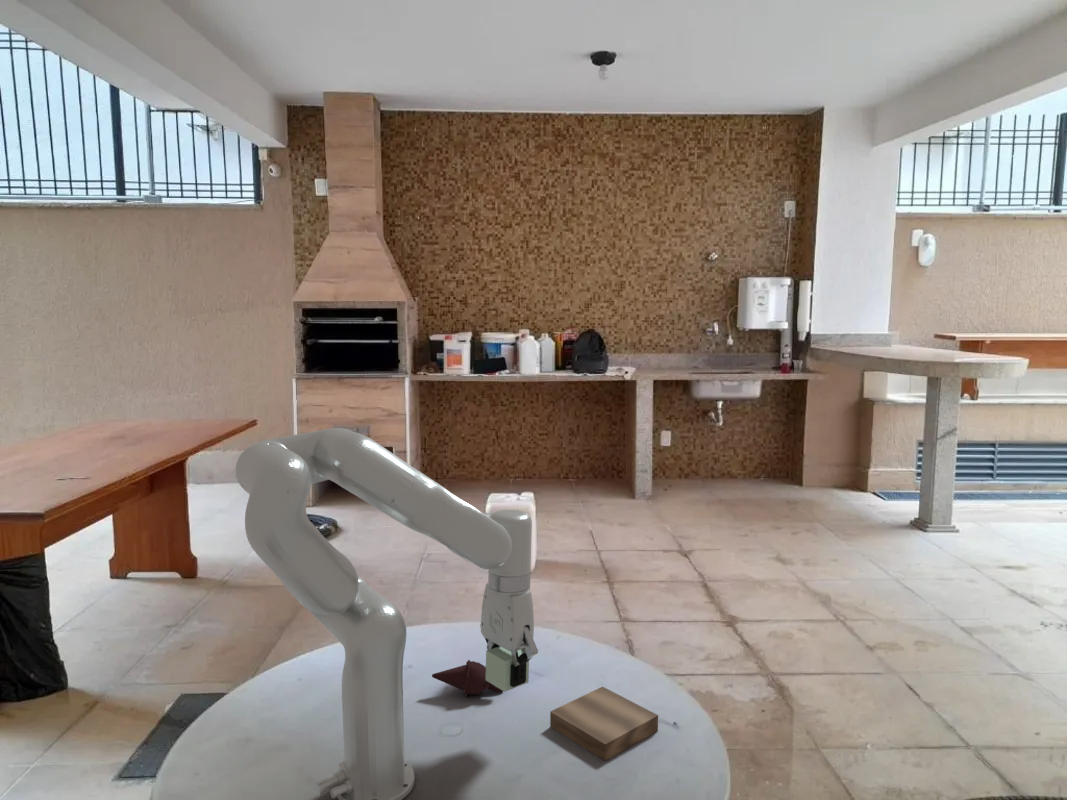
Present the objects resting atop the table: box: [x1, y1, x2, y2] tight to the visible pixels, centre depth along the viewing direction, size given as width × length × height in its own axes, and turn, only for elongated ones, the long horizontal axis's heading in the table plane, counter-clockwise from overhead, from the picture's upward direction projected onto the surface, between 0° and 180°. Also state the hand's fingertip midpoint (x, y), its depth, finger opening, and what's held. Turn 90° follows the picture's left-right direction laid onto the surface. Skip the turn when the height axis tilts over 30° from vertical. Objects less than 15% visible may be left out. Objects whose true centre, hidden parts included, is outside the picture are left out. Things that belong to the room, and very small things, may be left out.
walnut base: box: [549, 686, 659, 762], centre depth 135 cm, size 14×14×3 cm
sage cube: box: [485, 646, 530, 693], centre depth 132 cm, size 6×6×6 cm
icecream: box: [431, 659, 503, 698], centre depth 148 cm, size 7×7×15 cm
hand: (507, 677), depth 132 cm, fingers closed on sage cube, 5 cm apart
